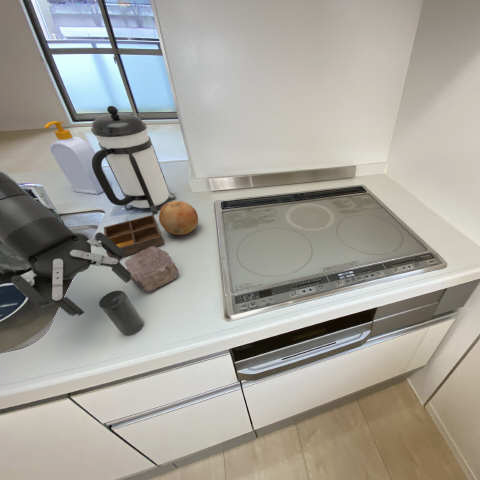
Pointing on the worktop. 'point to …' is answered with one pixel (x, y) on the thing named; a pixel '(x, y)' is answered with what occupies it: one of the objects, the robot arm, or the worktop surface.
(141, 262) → the stone
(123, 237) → the brown compartment tray
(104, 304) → the dark grey cylinder
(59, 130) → the soap bottle
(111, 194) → the coffee press
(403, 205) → the worktop surface
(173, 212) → the onion
